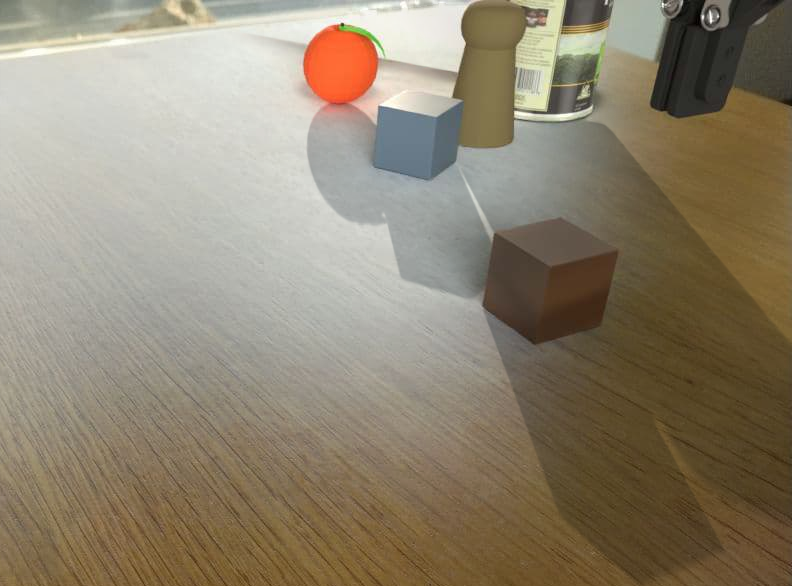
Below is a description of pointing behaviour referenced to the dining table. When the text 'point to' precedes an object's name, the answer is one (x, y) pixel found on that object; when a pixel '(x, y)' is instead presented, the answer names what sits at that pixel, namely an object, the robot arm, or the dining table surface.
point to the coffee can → (560, 58)
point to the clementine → (341, 63)
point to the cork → (489, 72)
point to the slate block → (418, 133)
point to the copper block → (549, 279)
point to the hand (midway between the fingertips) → (686, 109)
